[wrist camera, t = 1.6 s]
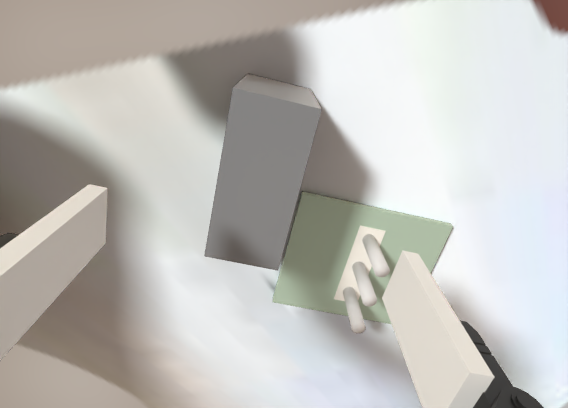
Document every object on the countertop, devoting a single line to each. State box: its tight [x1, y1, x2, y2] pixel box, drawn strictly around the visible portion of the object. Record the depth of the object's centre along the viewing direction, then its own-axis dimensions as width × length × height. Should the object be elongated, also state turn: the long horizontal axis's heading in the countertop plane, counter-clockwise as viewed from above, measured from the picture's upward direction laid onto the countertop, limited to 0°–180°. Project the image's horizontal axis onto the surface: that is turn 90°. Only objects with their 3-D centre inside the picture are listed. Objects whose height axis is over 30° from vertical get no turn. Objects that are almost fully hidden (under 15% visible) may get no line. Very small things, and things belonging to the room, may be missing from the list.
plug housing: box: [205, 74, 322, 270], centre depth 26 cm, size 5×11×9 cm, turn 167°
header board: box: [273, 191, 453, 333], centre depth 32 cm, size 14×12×6 cm
